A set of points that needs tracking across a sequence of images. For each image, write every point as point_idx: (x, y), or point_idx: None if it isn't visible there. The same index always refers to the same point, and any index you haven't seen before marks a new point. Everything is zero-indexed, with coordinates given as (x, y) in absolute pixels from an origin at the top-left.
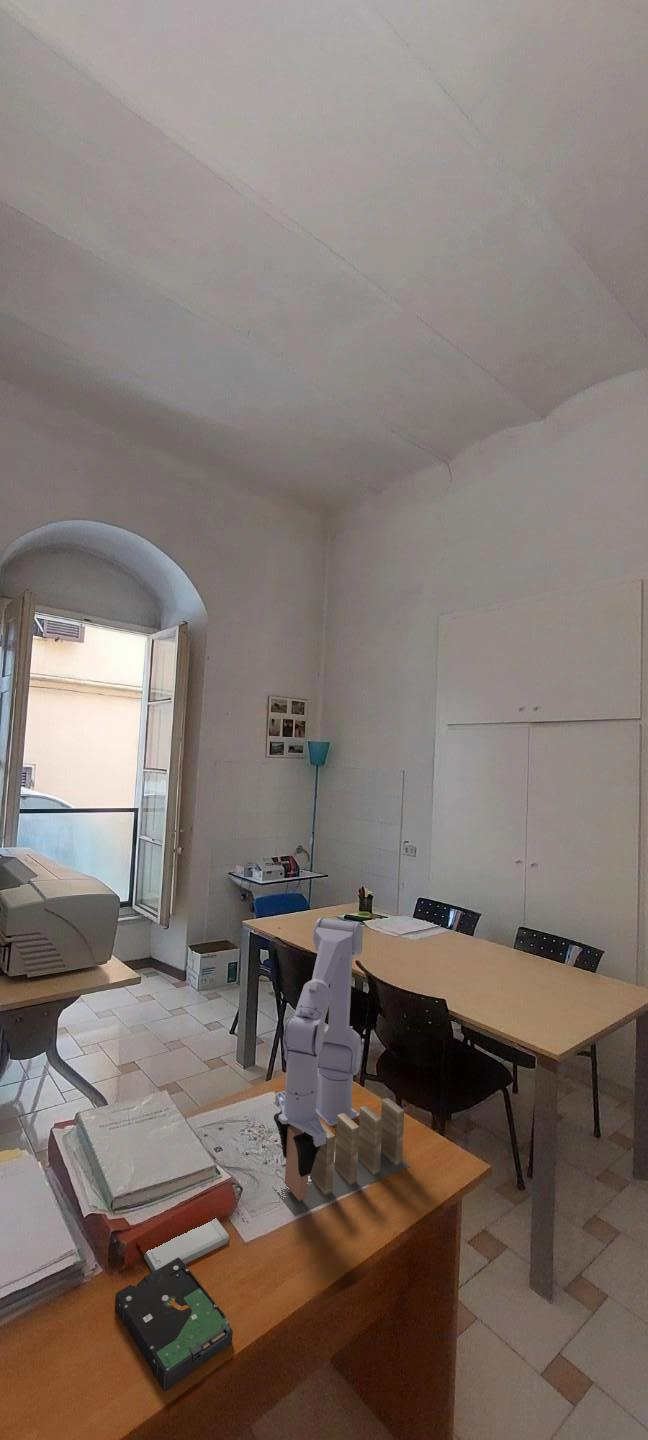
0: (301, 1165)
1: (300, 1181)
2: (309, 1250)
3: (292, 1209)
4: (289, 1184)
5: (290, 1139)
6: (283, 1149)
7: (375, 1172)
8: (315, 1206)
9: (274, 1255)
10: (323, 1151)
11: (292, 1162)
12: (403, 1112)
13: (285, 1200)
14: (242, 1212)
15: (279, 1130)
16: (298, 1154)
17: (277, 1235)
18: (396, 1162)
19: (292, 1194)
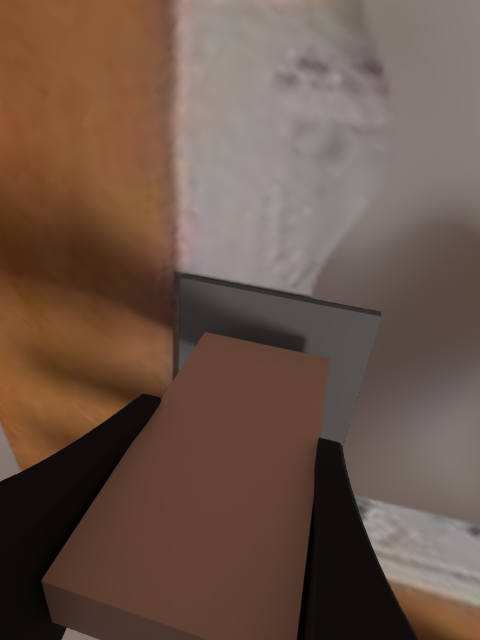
0: (89, 432)
1: (172, 381)
2: (32, 215)
3: (214, 293)
4: (285, 360)
5: (252, 558)
6: (327, 473)
7: None
8: (179, 363)
9: (55, 75)
10: None
11: (241, 434)
12: None
13: (272, 305)
14: (359, 93)
15: (367, 599)
16: (61, 477)
17: (141, 157)
18: None
19: (283, 347)
